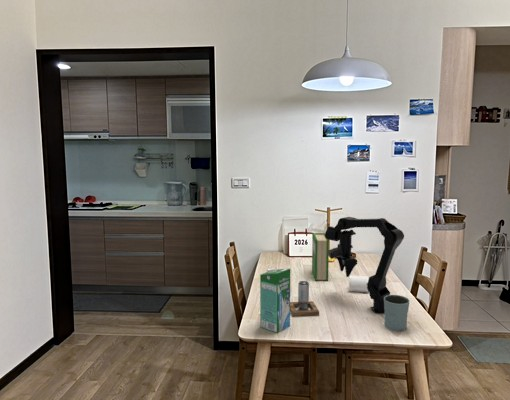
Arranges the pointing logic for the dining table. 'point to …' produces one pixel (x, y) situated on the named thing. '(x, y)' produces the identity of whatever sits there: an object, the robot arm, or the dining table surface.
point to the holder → (297, 313)
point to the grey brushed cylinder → (303, 295)
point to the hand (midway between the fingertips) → (344, 273)
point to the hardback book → (320, 256)
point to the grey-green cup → (396, 312)
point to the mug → (358, 283)
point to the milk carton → (275, 299)
